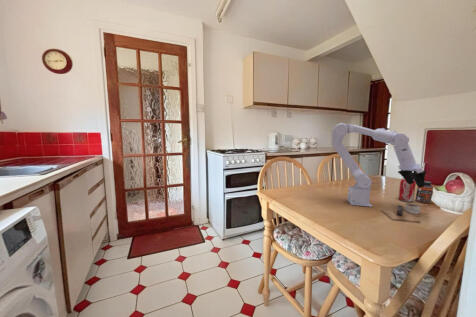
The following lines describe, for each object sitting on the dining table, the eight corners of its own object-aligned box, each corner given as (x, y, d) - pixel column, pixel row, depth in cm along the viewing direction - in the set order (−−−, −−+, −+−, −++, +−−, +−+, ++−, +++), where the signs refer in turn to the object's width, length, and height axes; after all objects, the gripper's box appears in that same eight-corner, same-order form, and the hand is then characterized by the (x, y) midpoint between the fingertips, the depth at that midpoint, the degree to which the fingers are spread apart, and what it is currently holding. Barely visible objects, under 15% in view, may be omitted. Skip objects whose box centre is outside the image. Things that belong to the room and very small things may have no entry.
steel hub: (408, 213, 89) (409, 206, 88) (402, 208, 93) (403, 203, 93) (421, 214, 87) (422, 208, 87) (414, 209, 92) (415, 204, 92)
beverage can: (416, 202, 102) (419, 180, 100) (402, 202, 103) (405, 180, 101) (408, 199, 108) (411, 178, 106) (395, 198, 109) (398, 177, 107)
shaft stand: (392, 220, 81) (393, 208, 81) (380, 210, 91) (382, 200, 90) (420, 222, 79) (421, 211, 78) (405, 213, 88) (407, 202, 88)
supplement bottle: (418, 202, 102) (421, 182, 100) (413, 199, 107) (416, 179, 106) (433, 204, 99) (436, 183, 98) (427, 200, 105) (430, 180, 103)
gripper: (426, 155, 82) (437, 185, 81) (406, 154, 96) (415, 180, 95) (407, 161, 84) (418, 190, 83) (390, 159, 98) (400, 184, 97)
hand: (416, 185), depth 89 cm, fingers open, 7 cm apart
